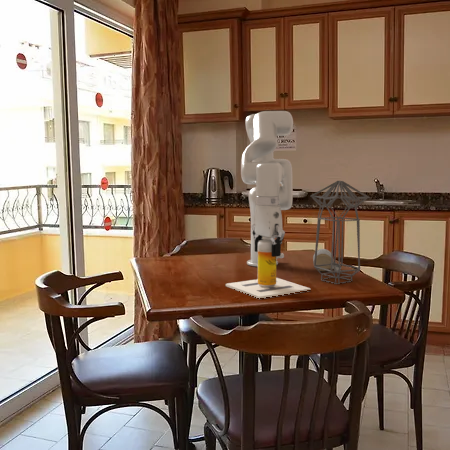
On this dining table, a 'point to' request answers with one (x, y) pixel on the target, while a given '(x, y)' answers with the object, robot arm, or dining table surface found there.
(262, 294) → the letter board
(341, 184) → the geometric lantern
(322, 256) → the ceramic mug
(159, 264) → the dining table surface
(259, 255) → the beer can
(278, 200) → the robot arm
